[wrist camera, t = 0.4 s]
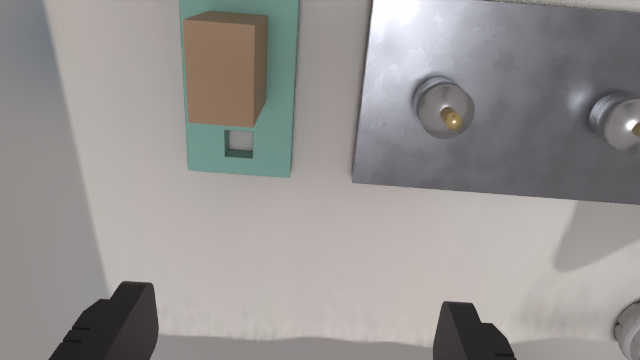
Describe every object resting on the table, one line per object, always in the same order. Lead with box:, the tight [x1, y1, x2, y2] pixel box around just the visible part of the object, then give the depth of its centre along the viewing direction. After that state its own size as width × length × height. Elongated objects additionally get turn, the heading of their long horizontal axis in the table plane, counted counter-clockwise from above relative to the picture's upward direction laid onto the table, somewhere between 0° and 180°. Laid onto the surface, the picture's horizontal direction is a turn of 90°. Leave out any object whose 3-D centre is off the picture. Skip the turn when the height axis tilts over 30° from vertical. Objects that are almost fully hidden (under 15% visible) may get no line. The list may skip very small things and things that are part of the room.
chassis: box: [352, 0, 640, 205], centre depth 31 cm, size 14×24×6 cm, turn 86°
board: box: [179, 0, 300, 178], centre depth 30 cm, size 18×8×8 cm, turn 176°
